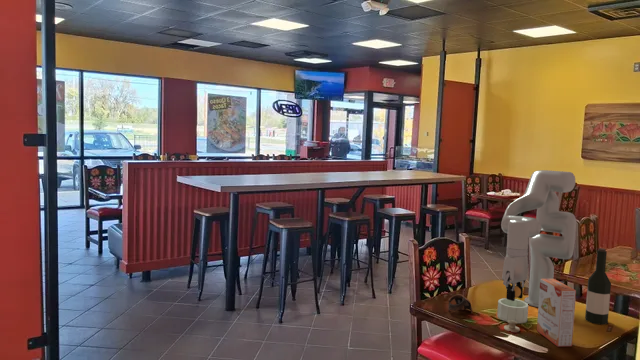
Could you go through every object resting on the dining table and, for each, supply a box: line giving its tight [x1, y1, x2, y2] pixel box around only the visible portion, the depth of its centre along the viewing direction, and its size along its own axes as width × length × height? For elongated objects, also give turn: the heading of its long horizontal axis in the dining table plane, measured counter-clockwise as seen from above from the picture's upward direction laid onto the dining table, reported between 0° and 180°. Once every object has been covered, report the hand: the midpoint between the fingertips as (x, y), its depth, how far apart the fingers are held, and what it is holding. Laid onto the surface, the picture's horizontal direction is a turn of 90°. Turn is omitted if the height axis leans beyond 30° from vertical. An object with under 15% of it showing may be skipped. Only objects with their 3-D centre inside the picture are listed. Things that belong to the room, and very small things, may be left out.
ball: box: [514, 285, 521, 298], centre depth 184 cm, size 4×4×4 cm
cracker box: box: [536, 278, 577, 348], centre depth 176 cm, size 14×6×21 cm, turn 5°
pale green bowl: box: [496, 297, 529, 324], centre depth 197 cm, size 11×11×6 cm
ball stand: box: [503, 320, 521, 333], centre depth 185 cm, size 6×6×3 cm
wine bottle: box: [584, 247, 612, 326], centre depth 196 cm, size 8×8×30 cm
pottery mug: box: [447, 293, 473, 314], centre depth 204 cm, size 12×10×8 cm
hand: (514, 298), depth 185 cm, fingers closed on ball, 4 cm apart
